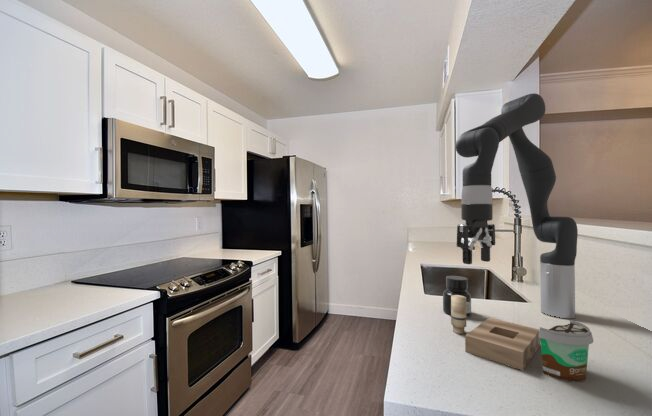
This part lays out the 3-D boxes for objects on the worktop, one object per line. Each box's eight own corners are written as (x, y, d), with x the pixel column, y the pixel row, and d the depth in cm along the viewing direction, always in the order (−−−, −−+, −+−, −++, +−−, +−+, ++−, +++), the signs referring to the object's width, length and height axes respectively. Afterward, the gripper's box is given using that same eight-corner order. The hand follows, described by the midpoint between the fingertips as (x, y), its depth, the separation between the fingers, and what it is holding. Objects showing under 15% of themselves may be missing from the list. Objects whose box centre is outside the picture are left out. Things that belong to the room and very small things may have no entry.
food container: (573, 391, 55) (572, 339, 56) (538, 374, 61) (538, 327, 61) (606, 377, 60) (606, 328, 60) (572, 363, 66) (571, 319, 66)
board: (489, 331, 83) (489, 317, 84) (540, 345, 75) (540, 329, 75) (465, 351, 71) (465, 335, 71) (522, 370, 62) (522, 352, 62)
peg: (454, 327, 86) (454, 294, 86) (468, 332, 83) (468, 297, 83) (448, 331, 83) (448, 296, 83) (463, 336, 80) (463, 300, 80)
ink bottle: (474, 319, 93) (474, 281, 94) (445, 316, 95) (445, 280, 96) (467, 309, 103) (467, 275, 103) (441, 307, 105) (441, 274, 105)
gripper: (478, 204, 86) (478, 258, 85) (448, 202, 78) (447, 262, 78) (504, 203, 79) (504, 262, 79) (474, 201, 72) (474, 267, 71)
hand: (476, 262), depth 78 cm, fingers open, 8 cm apart
